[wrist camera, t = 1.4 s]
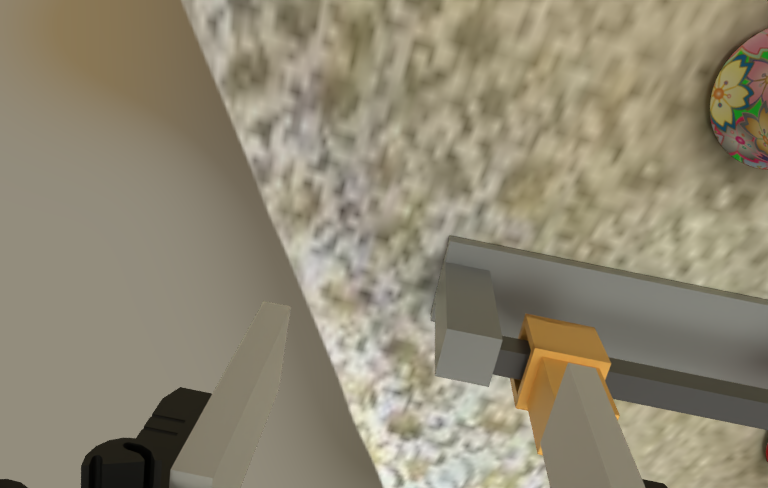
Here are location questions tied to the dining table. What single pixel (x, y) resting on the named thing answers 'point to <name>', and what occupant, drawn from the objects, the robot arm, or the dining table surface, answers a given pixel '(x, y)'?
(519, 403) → the sleeve
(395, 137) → the dining table surface
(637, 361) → the linear slide rail
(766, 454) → the beverage can
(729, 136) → the mug
